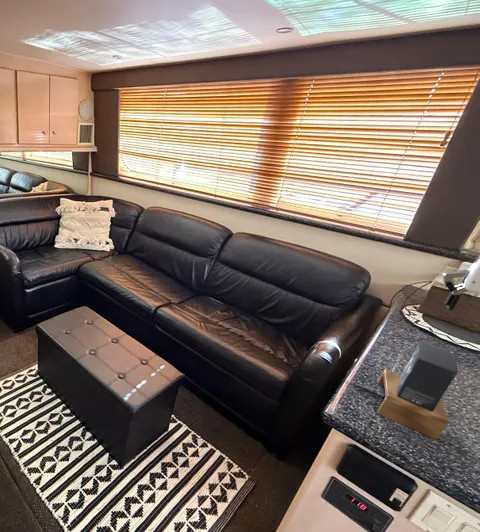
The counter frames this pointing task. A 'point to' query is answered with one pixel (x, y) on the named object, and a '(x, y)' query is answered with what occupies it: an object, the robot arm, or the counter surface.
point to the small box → (427, 375)
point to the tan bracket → (410, 409)
